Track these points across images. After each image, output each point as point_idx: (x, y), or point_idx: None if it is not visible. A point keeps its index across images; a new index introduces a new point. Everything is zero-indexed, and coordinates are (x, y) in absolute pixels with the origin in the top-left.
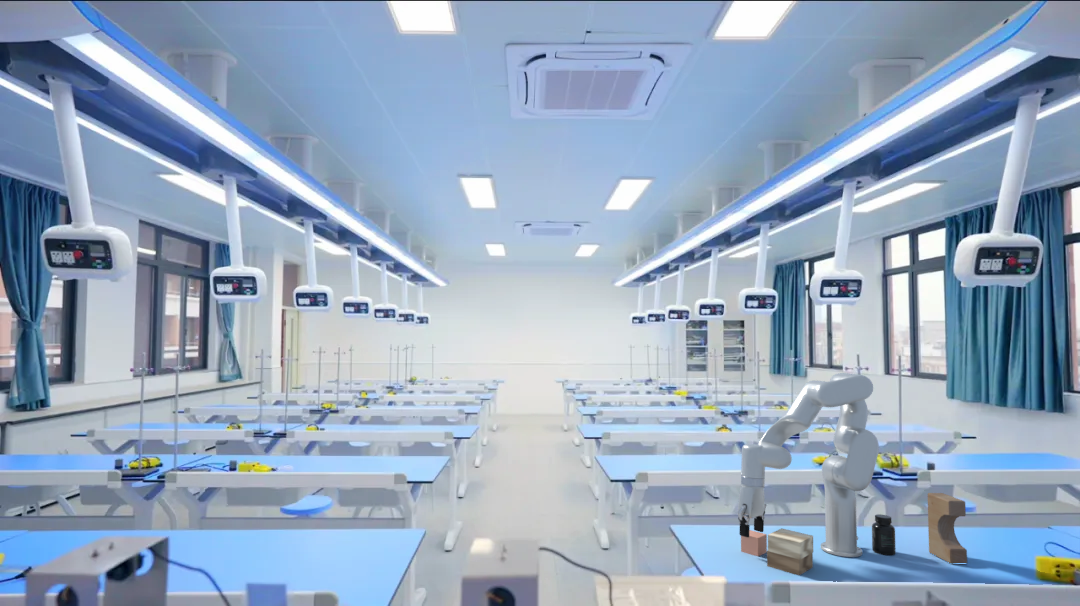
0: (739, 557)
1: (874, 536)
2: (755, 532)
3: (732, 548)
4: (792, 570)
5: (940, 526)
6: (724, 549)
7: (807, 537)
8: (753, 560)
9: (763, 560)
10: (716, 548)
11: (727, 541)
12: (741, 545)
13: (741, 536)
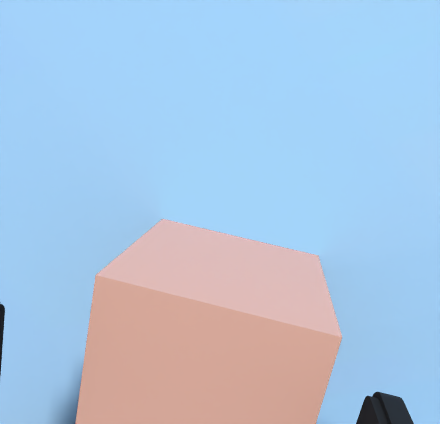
0: (22, 245)
1: None
2: (273, 418)
3: (196, 130)
4: None
5: None
6: (121, 78)
7: None
8: (34, 343)
9: None
10: (97, 3)
11: (386, 11)
12: (144, 237)
13: (109, 268)
